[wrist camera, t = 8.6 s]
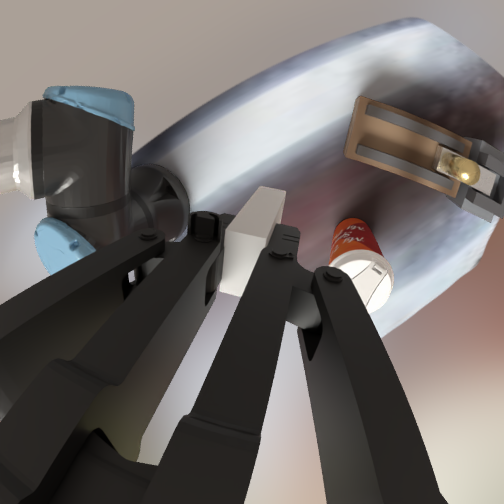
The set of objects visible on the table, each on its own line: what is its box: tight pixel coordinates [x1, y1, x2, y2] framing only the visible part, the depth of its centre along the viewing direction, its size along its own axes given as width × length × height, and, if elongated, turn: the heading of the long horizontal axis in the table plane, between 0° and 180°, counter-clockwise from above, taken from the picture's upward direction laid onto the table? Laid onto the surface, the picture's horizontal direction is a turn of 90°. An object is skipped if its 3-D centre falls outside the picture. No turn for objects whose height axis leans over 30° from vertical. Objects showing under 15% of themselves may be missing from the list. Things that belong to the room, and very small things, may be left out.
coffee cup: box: [329, 218, 394, 313], centre depth 36 cm, size 8×8×15 cm
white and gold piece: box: [432, 146, 496, 196], centre depth 25 cm, size 9×3×8 cm, turn 79°
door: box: [343, 96, 472, 198], centre depth 31 cm, size 16×8×8 cm, turn 79°
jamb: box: [446, 136, 504, 223], centre depth 29 cm, size 6×10×9 cm, turn 169°
